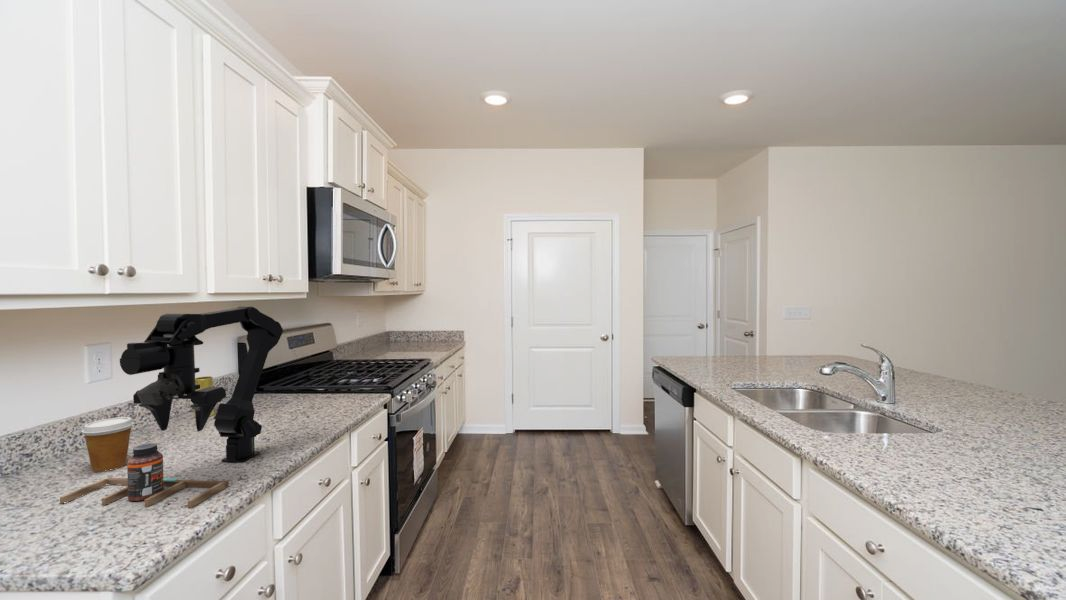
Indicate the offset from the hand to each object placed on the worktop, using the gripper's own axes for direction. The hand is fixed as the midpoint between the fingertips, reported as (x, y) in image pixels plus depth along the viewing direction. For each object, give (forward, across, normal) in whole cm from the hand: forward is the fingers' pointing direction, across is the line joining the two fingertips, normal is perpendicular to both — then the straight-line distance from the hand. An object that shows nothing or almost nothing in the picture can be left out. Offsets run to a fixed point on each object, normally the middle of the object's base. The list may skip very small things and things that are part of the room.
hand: (181, 430), depth 100 cm
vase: (+14, -42, +52) cm, 68 cm away
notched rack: (+13, -3, -7) cm, 15 cm away
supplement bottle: (+13, -3, -7) cm, 15 cm away
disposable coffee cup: (+13, -28, +7) cm, 31 cm away
